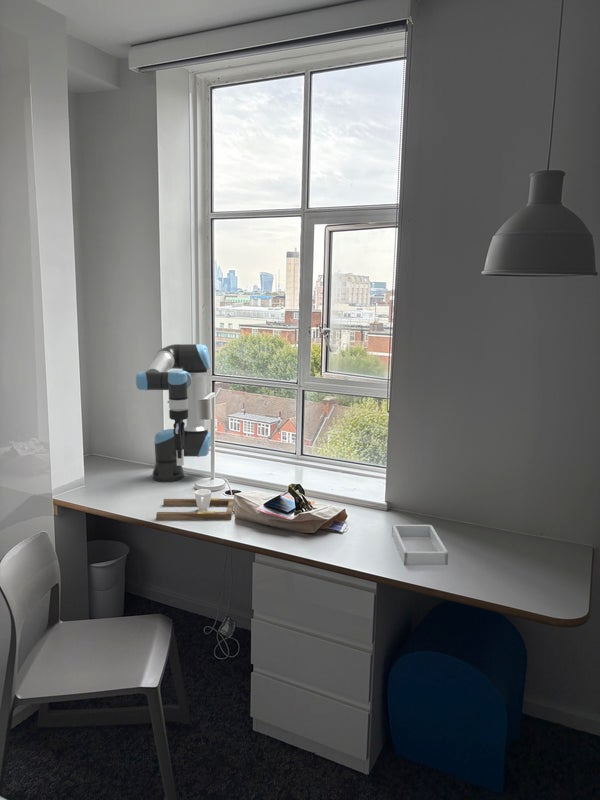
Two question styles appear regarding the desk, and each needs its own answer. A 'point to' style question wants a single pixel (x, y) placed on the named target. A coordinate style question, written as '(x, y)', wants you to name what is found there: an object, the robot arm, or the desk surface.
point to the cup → (203, 499)
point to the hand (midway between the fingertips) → (180, 464)
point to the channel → (200, 514)
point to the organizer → (419, 557)
